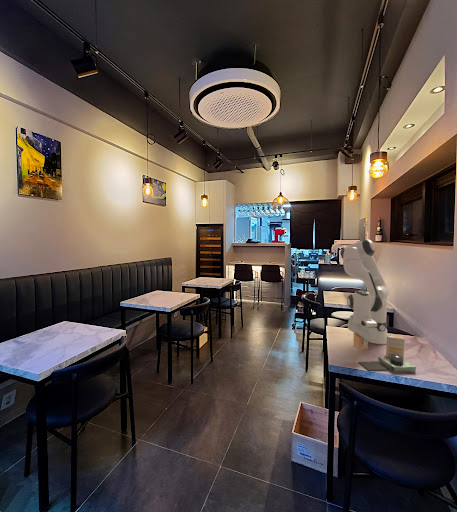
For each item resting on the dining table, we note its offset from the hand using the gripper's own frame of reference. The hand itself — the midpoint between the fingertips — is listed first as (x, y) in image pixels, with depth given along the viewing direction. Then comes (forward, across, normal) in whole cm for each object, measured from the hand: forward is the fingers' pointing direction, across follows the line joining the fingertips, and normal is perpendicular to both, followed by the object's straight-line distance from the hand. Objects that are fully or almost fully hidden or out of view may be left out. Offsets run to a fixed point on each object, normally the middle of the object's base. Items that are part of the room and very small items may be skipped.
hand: (360, 342), depth 142 cm
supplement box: (+11, 0, +22) cm, 25 cm away
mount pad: (+10, +8, +2) cm, 13 cm away
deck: (+10, +9, +15) cm, 20 cm away
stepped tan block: (+3, 0, 0) cm, 3 cm away
